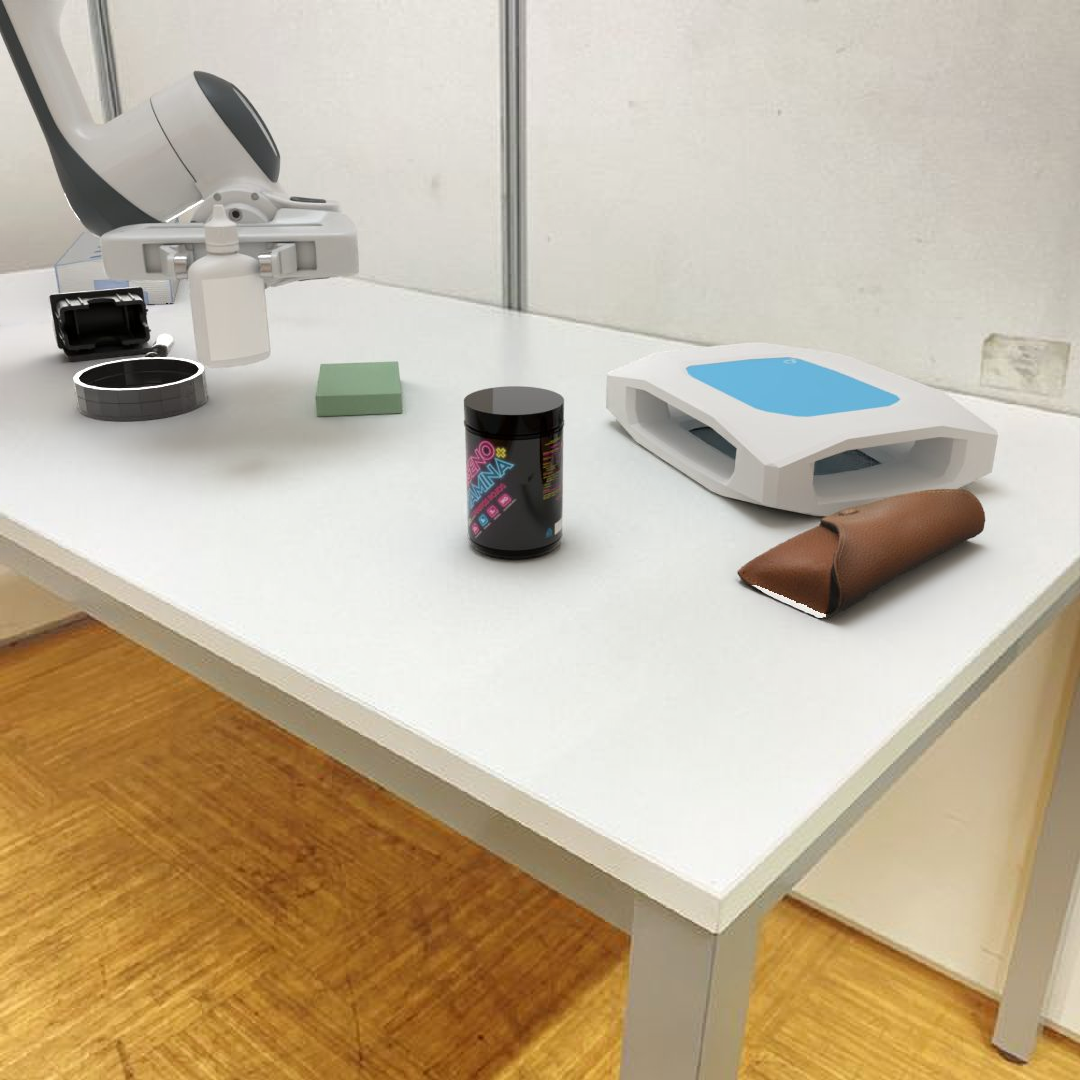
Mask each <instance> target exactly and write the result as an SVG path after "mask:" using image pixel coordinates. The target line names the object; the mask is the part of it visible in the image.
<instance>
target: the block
mask: <svg viewBox="0 0 1080 1080" xmlns="http://www.w3.org/2000/svg"><path fill="white" fill-rule="evenodd" d="M316 385H317V386H316V392H315V406H316V417H338V416H339V417H342V416H364V415H365V416H366V415H391V414H403V401H402V400H403V398H402V397H403V396H402V388H401V387H402V385H401V377H400V365H399V361H373V362H371V361H370V362H368V361H367V362H342V363H341V362H340V363H320V364H319V372H318V378H317V384H316Z"/></svg>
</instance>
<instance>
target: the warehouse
mask: <svg viewBox="0 0 1080 1080" xmlns="http://www.w3.org/2000/svg"><path fill="white" fill-rule="evenodd" d="M168 223H180V222H179V217H178V216H176V217H175V218H173V219H171V220H169V221H168ZM100 239H101V237H98V236H96V235H94V234H92V233H91V232H90V231H89V230H88V231H84V232H82V233H81V234H80V236H79V237H78V238H77V239H76V240H75V241H74V242H73V243H72V244H71V245H70V247H69V248H68V249H67V250H66V251H65V252H64V254H63V255H62V256H61V257H60V258H59V259H58V260H57V262H56V263H55V264H54V265H53V267H54V274H55V279H56V285H57V290H58V291H57V292H58V294H59V293H71V292H83V291H94V290H106V289H118V288H130V287H141V288H142V289H143V294H144V301H145V304H155V305H171V304H170V303H173V304H172V305H174V301H175V298H176V295H175V294H177V291H178V287H179V284H178V283H180V280H137V281H116V280H112V279H109V278H108V277H107V276H106V275H105V271H104V267H103V261H102V254H101V245H100ZM176 290H177V291H176ZM166 303H168V304H166Z"/></svg>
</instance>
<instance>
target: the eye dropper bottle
mask: <svg viewBox="0 0 1080 1080" xmlns="http://www.w3.org/2000/svg"><path fill="white" fill-rule="evenodd" d="M204 232H205V241H206V250H207V251H208V252H209V253H208V254H207V255H206V256H204V257H202V258H200V259H198V260H197V261H195V262H194V263H192V264H191V266H190V267H189V269H188V279H187V283H188V285H187V286H188V294H189V302H190V303H189V304H190V310H191V319H192V327H193V336H194V337H193V338H194V344H195V353H196V359H197V361H198V363H200V364H201V365H202V366H203V367H207V368H210V369H227V368H236V367H243V366H247V365H252V364H256V363H259V362H263V361H265V360H267V359H269V358H270V356H271V353H272V352H271V341H270V330H269V319H268V309H267V300H266V289H265V287H264V279H263V278H260V273H259V269H260V267H261V266H260V265H259V263H258V261H257V260H256V259H254V258H253V257H250V256H248V255H244V254H240V253H239V252H237V251H238V250H239V241H238V231H237V224H236V223H234V222H232V221H230V220H229V219H228V218H227V217H226V213H225V210H224V207H223V205H213V217H212V219H211V221H209V222H208V223H206V224H205V225H204Z"/></svg>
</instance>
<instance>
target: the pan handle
mask: <svg viewBox="0 0 1080 1080" xmlns="http://www.w3.org/2000/svg"><path fill="white" fill-rule="evenodd" d="M174 346H175V339H174V338H173V336H171V335H170V334H167V333H163V334H160V335H158V336H157V338H156V340H155V341H154V343H153V344H152V345H151V348H150V350H149V351H148V352H147V353H145V354H144V357H143V358H155V357H164V358H168V356H169V354H170V353H171V351H172V350H173V348H174Z"/></svg>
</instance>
